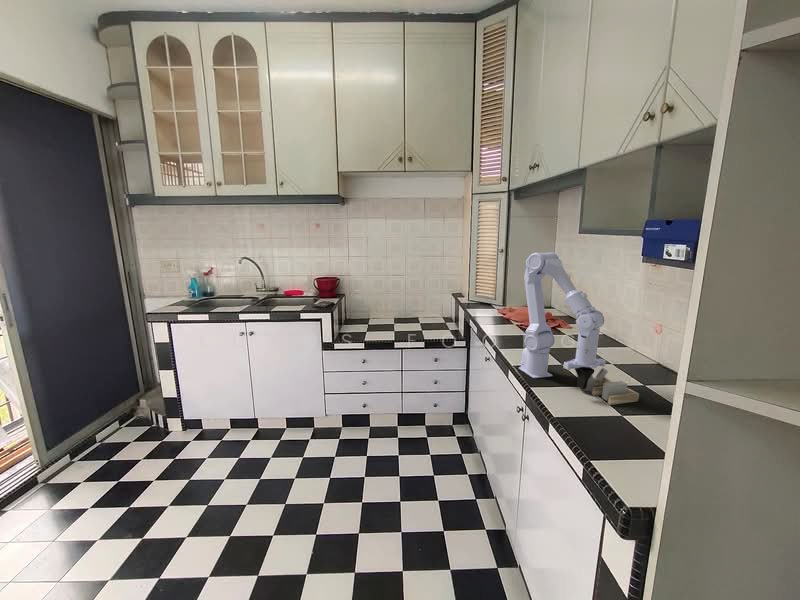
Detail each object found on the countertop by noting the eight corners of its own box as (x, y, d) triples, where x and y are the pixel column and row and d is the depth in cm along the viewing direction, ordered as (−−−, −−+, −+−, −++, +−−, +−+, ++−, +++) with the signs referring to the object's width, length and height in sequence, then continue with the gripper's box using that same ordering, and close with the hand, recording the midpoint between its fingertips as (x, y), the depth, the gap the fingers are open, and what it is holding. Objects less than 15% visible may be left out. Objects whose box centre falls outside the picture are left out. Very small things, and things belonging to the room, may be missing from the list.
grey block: (601, 398, 109) (603, 383, 108) (619, 395, 111) (621, 381, 110) (606, 401, 108) (609, 386, 107) (624, 398, 109) (627, 383, 108)
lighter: (580, 389, 114) (584, 366, 113) (579, 387, 116) (583, 365, 114) (604, 393, 113) (608, 369, 111) (602, 390, 115) (606, 368, 113)
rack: (577, 386, 117) (578, 379, 117) (603, 383, 120) (604, 376, 120) (609, 405, 105) (610, 397, 104) (637, 401, 108) (639, 393, 107)
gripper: (576, 354, 105) (571, 395, 108) (615, 350, 109) (610, 391, 111) (560, 346, 112) (556, 386, 114) (597, 343, 115) (592, 381, 118)
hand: (581, 388), depth 113 cm, fingers closed, pressing on lighter
